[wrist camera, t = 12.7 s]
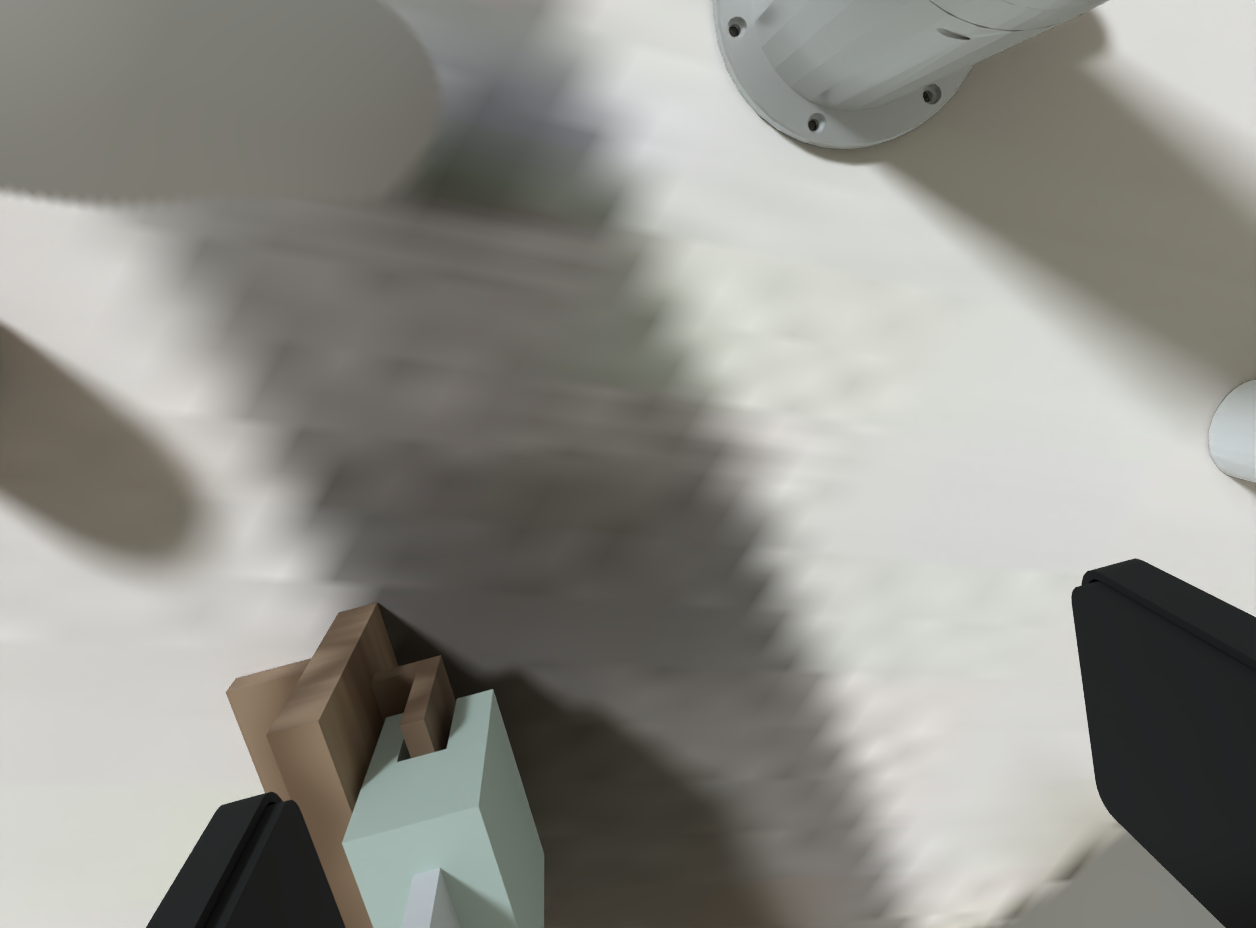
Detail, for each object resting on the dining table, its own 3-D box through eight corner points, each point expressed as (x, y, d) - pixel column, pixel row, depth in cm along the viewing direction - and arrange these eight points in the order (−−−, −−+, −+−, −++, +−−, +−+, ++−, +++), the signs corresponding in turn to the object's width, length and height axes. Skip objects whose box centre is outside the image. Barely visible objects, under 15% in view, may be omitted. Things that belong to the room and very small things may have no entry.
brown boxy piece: (438, 586, 45) (401, 699, 34) (522, 850, 49) (515, 1034, 37) (222, 643, 45) (108, 777, 33) (323, 905, 49) (253, 1107, 37)
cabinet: (492, 689, 41) (466, 904, 27) (544, 854, 43) (543, 1131, 29) (386, 717, 40) (304, 948, 27) (442, 882, 43) (394, 1174, 29)
